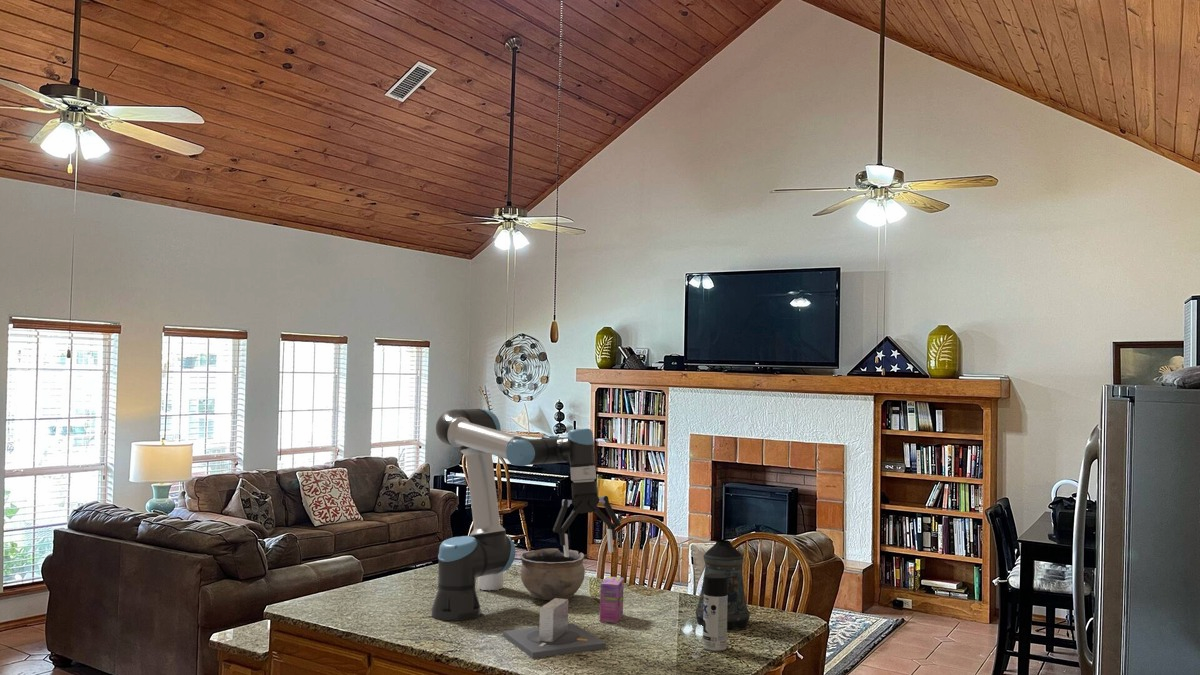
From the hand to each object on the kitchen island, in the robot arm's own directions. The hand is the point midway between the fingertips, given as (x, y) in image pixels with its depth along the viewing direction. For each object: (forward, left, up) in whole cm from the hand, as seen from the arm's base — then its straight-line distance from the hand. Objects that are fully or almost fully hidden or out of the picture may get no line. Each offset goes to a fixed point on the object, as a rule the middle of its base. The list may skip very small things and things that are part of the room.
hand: (588, 554), depth 260 cm
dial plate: (+4, -12, -23) cm, 26 cm away
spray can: (+27, +27, -23) cm, 44 cm away
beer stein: (+5, +44, -23) cm, 50 cm away
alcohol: (-64, -6, -23) cm, 69 cm away
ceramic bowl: (-42, +8, -23) cm, 49 cm away
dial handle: (+4, -12, -21) cm, 25 cm away
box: (-12, +15, -23) cm, 30 cm away
